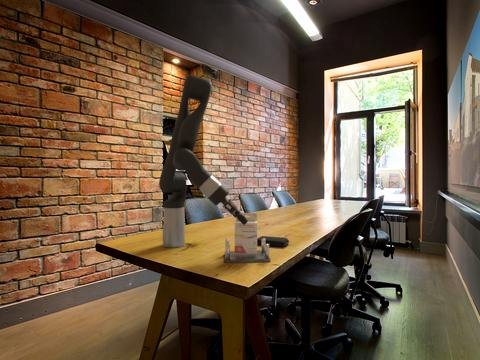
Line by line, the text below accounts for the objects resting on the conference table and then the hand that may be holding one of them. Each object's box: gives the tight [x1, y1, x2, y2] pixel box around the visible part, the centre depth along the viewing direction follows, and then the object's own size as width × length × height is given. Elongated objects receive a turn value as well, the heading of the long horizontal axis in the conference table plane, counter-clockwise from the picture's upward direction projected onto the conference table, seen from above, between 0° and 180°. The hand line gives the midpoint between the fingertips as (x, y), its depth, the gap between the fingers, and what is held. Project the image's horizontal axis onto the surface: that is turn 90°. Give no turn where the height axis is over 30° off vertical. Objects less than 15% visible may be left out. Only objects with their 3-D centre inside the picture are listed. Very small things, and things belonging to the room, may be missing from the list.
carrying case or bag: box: [257, 235, 290, 249], centre depth 129 cm, size 11×3×15 cm
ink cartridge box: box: [234, 212, 258, 254], centre depth 107 cm, size 9×5×15 cm, turn 86°
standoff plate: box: [224, 238, 271, 264], centre depth 107 cm, size 16×12×6 cm
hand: (245, 221), depth 107 cm, fingers closed on ink cartridge box, 5 cm apart
